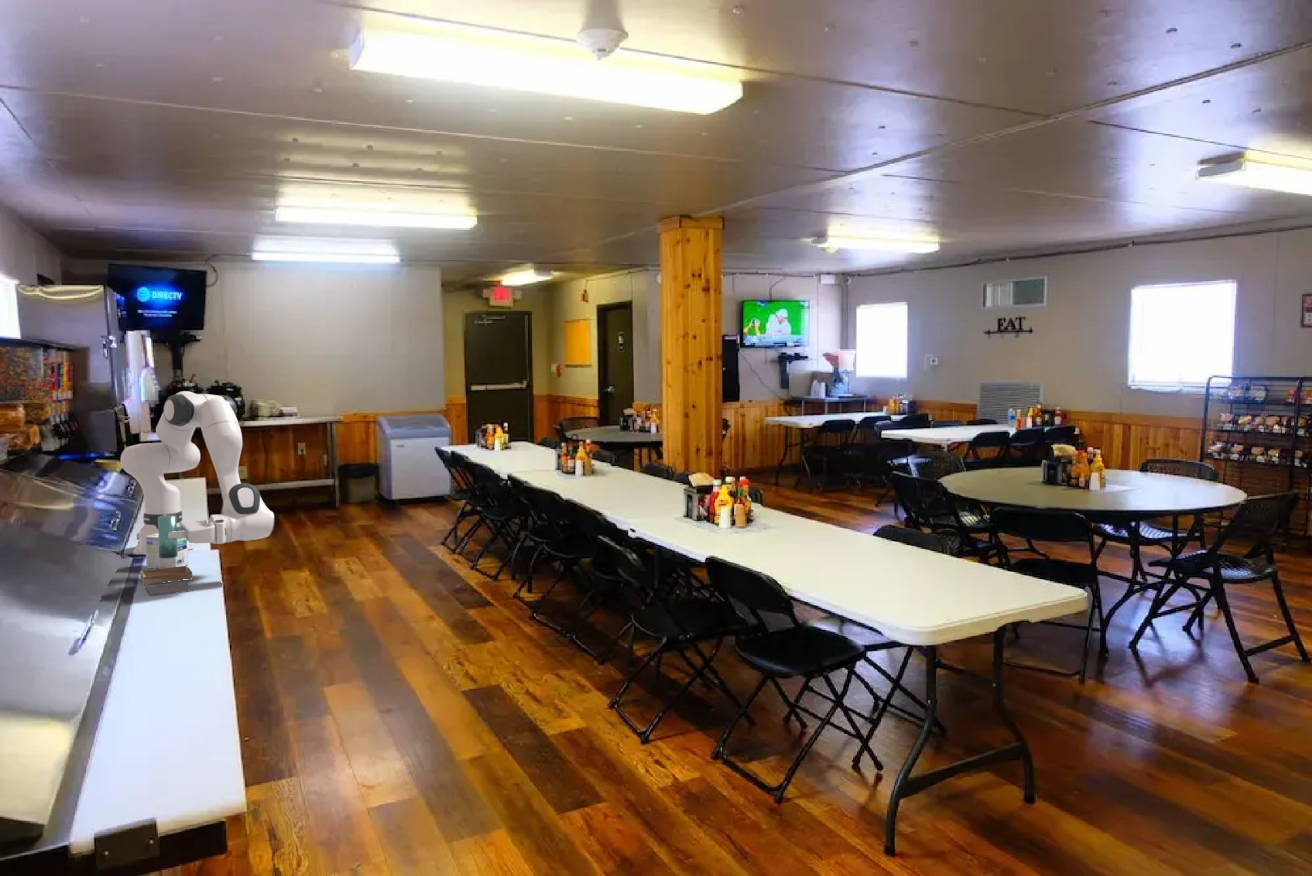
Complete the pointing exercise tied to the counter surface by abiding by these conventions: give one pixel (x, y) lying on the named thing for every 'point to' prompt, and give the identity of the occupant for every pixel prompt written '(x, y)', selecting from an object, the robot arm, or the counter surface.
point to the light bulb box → (157, 562)
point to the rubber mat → (167, 588)
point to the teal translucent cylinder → (167, 544)
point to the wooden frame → (165, 574)
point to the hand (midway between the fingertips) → (166, 533)
